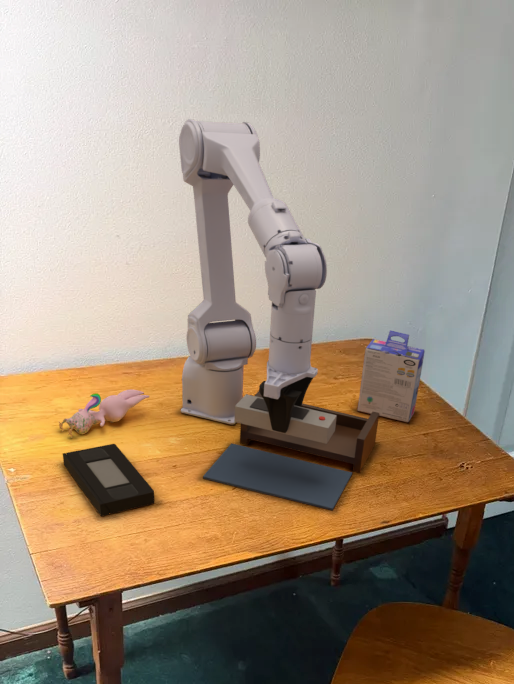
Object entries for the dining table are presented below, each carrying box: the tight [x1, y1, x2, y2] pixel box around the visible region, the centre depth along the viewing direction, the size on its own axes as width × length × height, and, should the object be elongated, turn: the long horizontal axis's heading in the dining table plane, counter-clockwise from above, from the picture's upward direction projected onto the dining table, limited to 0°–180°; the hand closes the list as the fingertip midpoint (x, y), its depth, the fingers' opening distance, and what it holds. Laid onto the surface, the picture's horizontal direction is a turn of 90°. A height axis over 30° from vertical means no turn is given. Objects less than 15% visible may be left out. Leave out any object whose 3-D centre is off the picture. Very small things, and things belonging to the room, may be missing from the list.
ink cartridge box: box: [356, 330, 426, 423], centre depth 139 cm, size 10×6×14 cm, turn 78°
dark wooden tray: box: [239, 390, 380, 474], centre depth 127 cm, size 20×10×6 cm, turn 78°
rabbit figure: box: [58, 388, 150, 439], centre depth 123 cm, size 6×6×15 cm
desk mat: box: [202, 442, 353, 511], centre depth 120 cm, size 20×11×1 cm, turn 78°
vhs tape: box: [62, 443, 156, 517], centre depth 111 cm, size 8×14×2 cm, turn 37°
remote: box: [234, 393, 337, 444], centre depth 115 cm, size 14×4×3 cm, turn 78°
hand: (285, 423), depth 115 cm, fingers closed on remote, 4 cm apart
